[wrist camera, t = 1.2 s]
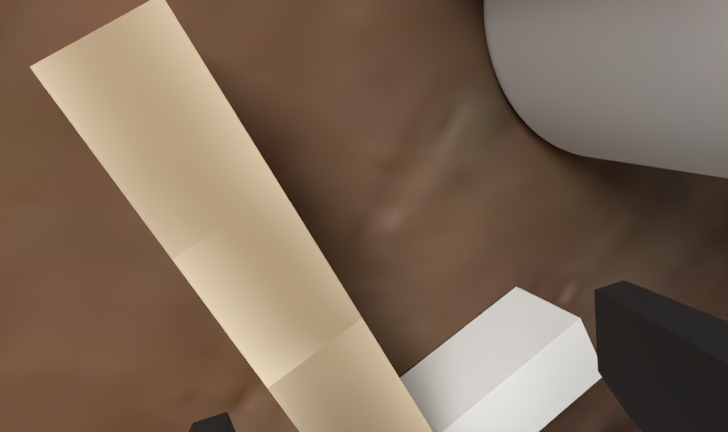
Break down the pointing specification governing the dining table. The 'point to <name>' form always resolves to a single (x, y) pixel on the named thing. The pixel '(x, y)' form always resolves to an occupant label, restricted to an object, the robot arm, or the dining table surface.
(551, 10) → the cylinder vase
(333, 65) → the dining table surface
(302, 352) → the light wood plank
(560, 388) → the white building blocks
